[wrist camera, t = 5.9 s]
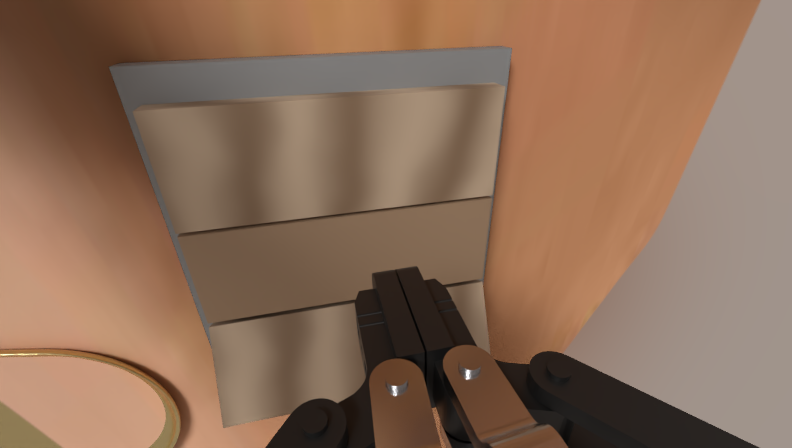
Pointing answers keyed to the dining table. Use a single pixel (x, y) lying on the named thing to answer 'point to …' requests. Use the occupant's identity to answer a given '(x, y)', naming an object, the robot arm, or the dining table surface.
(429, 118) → the near plank
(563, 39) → the dining table surface
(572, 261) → the dining table surface
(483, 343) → the far plank
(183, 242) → the panel
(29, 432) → the serving platter
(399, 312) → the robot arm
